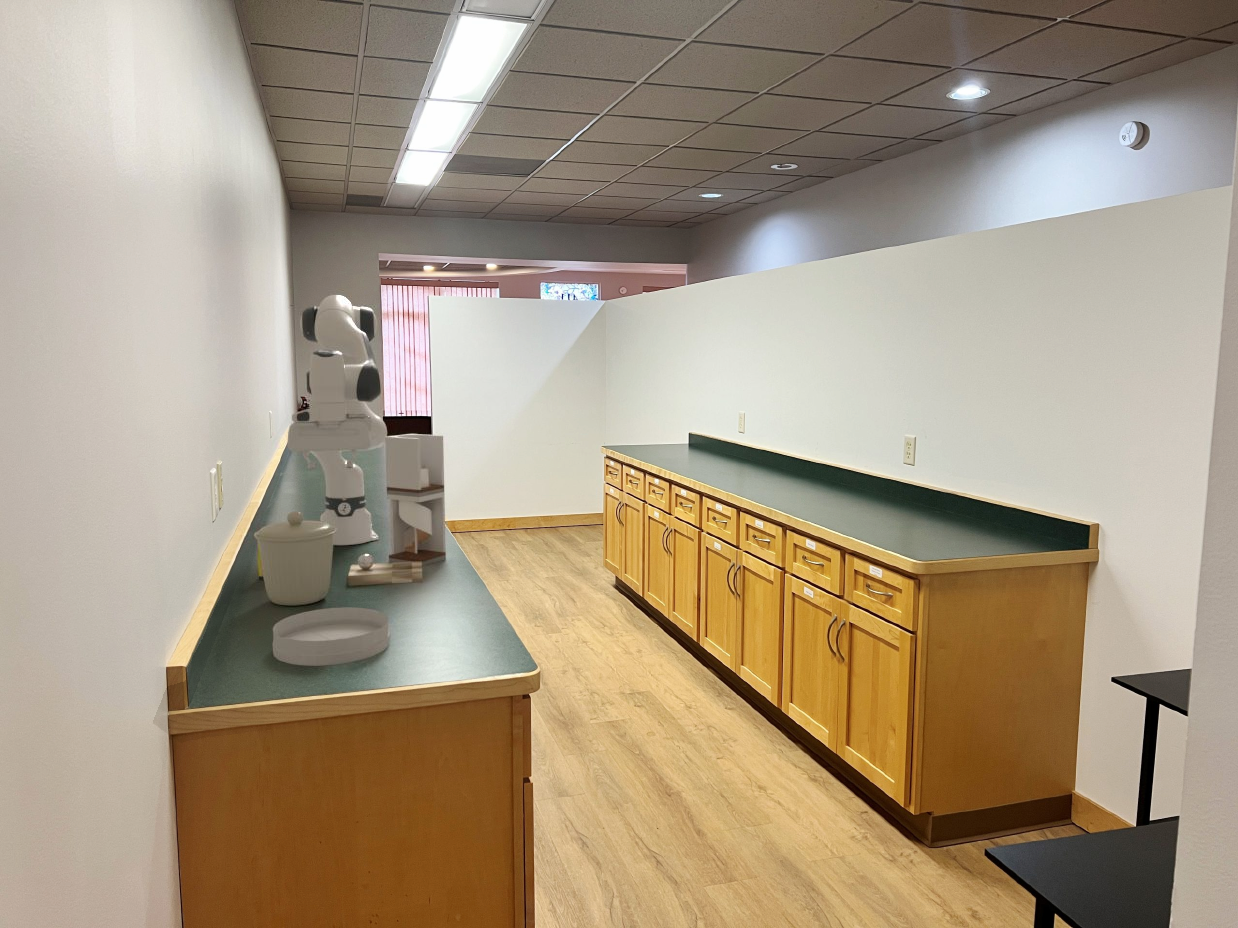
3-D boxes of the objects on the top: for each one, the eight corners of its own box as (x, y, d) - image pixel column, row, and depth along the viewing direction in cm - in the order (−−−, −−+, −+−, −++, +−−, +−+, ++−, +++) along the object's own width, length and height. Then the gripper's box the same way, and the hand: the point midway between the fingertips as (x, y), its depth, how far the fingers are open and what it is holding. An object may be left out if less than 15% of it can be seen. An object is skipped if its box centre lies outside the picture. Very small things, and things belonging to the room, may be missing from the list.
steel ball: (358, 567, 228) (357, 552, 227) (374, 567, 228) (373, 551, 228) (357, 571, 224) (356, 556, 223) (373, 570, 225) (373, 555, 224)
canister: (252, 613, 196) (247, 520, 193) (262, 592, 213) (258, 506, 210) (337, 607, 200) (334, 516, 198) (340, 587, 218) (337, 503, 215)
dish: (412, 646, 175) (411, 622, 174) (309, 676, 159) (308, 649, 158) (351, 623, 190) (351, 600, 189) (252, 648, 173) (250, 624, 173)
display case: (388, 562, 245) (385, 436, 240) (414, 554, 254) (411, 433, 250) (420, 566, 239) (417, 438, 235) (445, 558, 249) (443, 435, 244)
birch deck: (351, 574, 231) (351, 564, 231) (421, 570, 235) (421, 561, 235) (348, 585, 220) (348, 575, 219) (422, 581, 224) (422, 571, 223)
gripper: (372, 413, 229) (373, 466, 230) (288, 414, 224) (290, 468, 225) (370, 414, 223) (372, 468, 224) (285, 415, 218) (287, 470, 219)
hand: (330, 468), depth 224 cm, fingers open, 8 cm apart
